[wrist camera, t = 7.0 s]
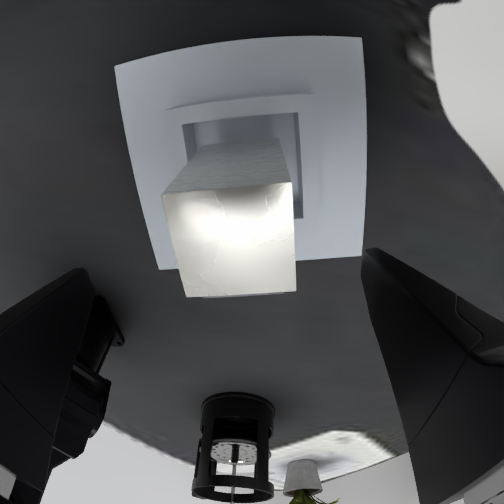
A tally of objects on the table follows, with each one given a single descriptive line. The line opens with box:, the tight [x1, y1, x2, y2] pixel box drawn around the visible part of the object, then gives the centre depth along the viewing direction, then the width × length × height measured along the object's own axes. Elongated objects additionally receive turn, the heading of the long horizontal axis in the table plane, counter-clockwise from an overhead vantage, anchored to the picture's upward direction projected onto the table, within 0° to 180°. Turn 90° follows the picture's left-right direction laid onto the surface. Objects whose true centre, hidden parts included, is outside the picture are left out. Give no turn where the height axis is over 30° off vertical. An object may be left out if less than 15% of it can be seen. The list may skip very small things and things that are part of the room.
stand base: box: [114, 36, 367, 270], centre depth 18 cm, size 16×16×4 cm
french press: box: [192, 392, 275, 504], centre depth 27 cm, size 12×9×23 cm
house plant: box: [283, 460, 338, 504], centre depth 41 cm, size 14×14×16 cm
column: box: [161, 138, 296, 298], centre depth 14 cm, size 5×4×8 cm
